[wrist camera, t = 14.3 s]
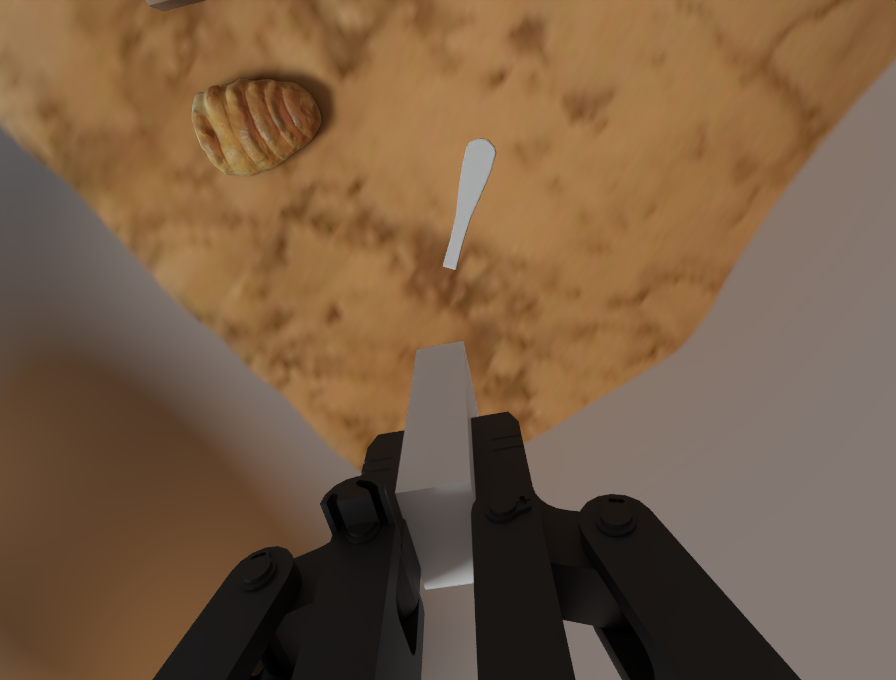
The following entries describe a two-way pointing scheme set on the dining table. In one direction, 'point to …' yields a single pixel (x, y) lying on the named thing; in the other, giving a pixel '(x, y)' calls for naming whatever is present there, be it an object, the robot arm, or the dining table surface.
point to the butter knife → (469, 193)
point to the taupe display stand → (169, 3)
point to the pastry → (254, 124)
